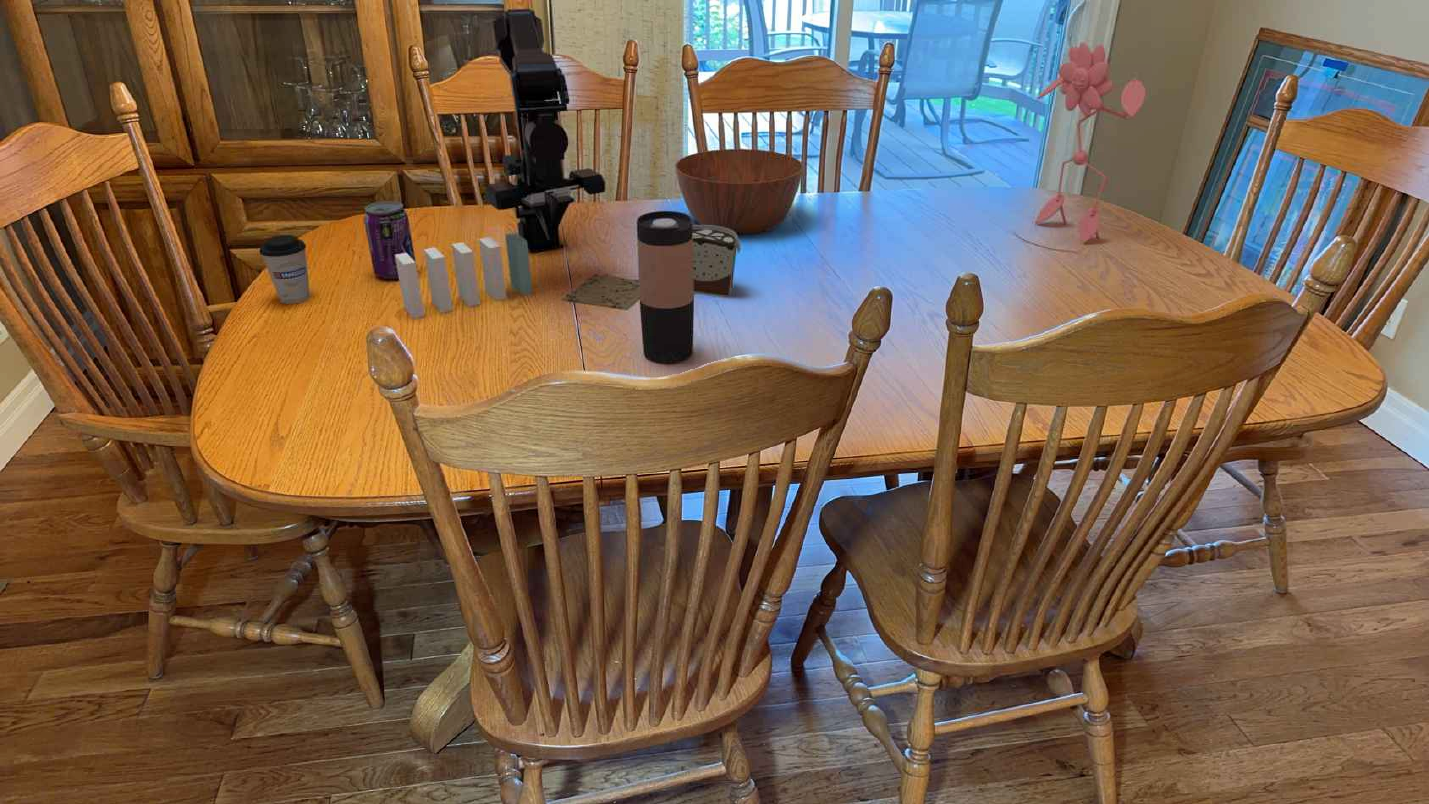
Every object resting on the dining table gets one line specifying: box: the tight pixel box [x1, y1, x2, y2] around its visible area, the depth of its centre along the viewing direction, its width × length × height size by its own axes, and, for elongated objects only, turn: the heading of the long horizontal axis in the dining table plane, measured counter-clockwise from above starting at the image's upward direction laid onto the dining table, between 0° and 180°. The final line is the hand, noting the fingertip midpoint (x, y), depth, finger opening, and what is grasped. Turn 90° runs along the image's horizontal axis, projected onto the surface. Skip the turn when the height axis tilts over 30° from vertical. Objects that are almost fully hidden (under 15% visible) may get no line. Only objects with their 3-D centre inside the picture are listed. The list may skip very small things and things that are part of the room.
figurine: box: [1012, 42, 1146, 254], centre depth 168 cm, size 15×26×35 cm, turn 23°
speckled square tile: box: [561, 273, 640, 311], centre depth 153 cm, size 12×12×1 cm
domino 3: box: [451, 241, 481, 308], centre depth 148 cm, size 2×5×9 cm, turn 32°
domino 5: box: [504, 232, 533, 296], centre depth 152 cm, size 2×5×9 cm, turn 32°
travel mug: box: [636, 210, 695, 365], centre depth 128 cm, size 8×8×20 cm
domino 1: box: [395, 253, 426, 320], centre depth 143 cm, size 2×5×9 cm, turn 32°
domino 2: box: [423, 246, 454, 314], centre depth 145 cm, size 2×5×9 cm, turn 32°
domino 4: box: [478, 236, 508, 302], centre depth 150 cm, size 2×5×9 cm, turn 32°
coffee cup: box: [258, 234, 311, 305], centre depth 148 cm, size 7×7×10 cm
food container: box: [692, 224, 742, 298], centre depth 152 cm, size 12×6×10 cm, turn 71°
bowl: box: [675, 148, 805, 235], centre depth 182 cm, size 25×25×11 cm
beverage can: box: [363, 200, 418, 280], centre depth 157 cm, size 7×7×12 cm
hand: (550, 239), depth 153 cm, fingers closed
